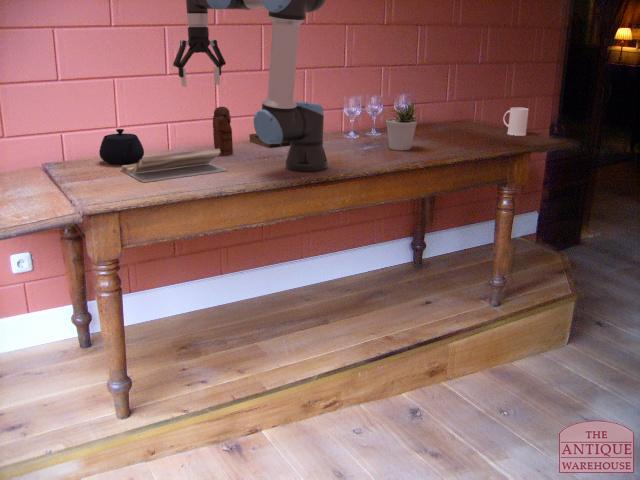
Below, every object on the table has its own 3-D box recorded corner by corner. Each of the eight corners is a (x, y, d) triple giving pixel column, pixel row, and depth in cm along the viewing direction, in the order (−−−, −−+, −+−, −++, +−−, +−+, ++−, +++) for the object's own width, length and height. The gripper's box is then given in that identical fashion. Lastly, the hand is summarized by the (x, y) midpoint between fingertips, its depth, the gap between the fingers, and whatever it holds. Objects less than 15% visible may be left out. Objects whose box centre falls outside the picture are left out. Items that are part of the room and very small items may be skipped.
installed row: (209, 163, 240) (209, 159, 239) (129, 173, 223) (129, 169, 222) (200, 159, 245) (200, 155, 244) (122, 169, 228) (121, 165, 227)
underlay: (228, 170, 230) (228, 169, 230) (143, 183, 213) (143, 181, 212) (201, 160, 245) (201, 159, 245) (120, 171, 228) (120, 169, 228)
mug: (497, 133, 311) (500, 107, 307) (508, 131, 316) (510, 105, 312) (519, 136, 302) (522, 110, 298) (529, 134, 308) (532, 108, 304)
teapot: (92, 158, 246) (88, 126, 242) (132, 154, 254) (130, 122, 250) (112, 172, 226) (109, 136, 222) (156, 167, 234) (154, 132, 230)
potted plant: (402, 153, 263) (405, 102, 256) (378, 148, 273) (380, 99, 266) (423, 149, 270) (427, 100, 264) (399, 144, 280) (402, 96, 274)
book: (296, 137, 297) (248, 142, 283) (296, 129, 295) (248, 134, 282) (319, 143, 283) (269, 149, 269) (319, 135, 282) (269, 140, 268)
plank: (220, 152, 229) (219, 148, 229) (143, 162, 213) (142, 157, 213) (208, 163, 238) (207, 159, 238) (133, 172, 222) (132, 168, 222)
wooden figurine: (236, 155, 255) (234, 108, 249) (220, 156, 253) (218, 109, 247) (227, 149, 265) (225, 104, 259) (211, 150, 263) (209, 105, 257)
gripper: (224, 26, 251) (226, 82, 258) (161, 26, 238) (165, 86, 244) (233, 26, 245) (235, 84, 252) (169, 26, 232) (173, 88, 239)
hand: (200, 85), depth 248 cm, fingers open, 13 cm apart
